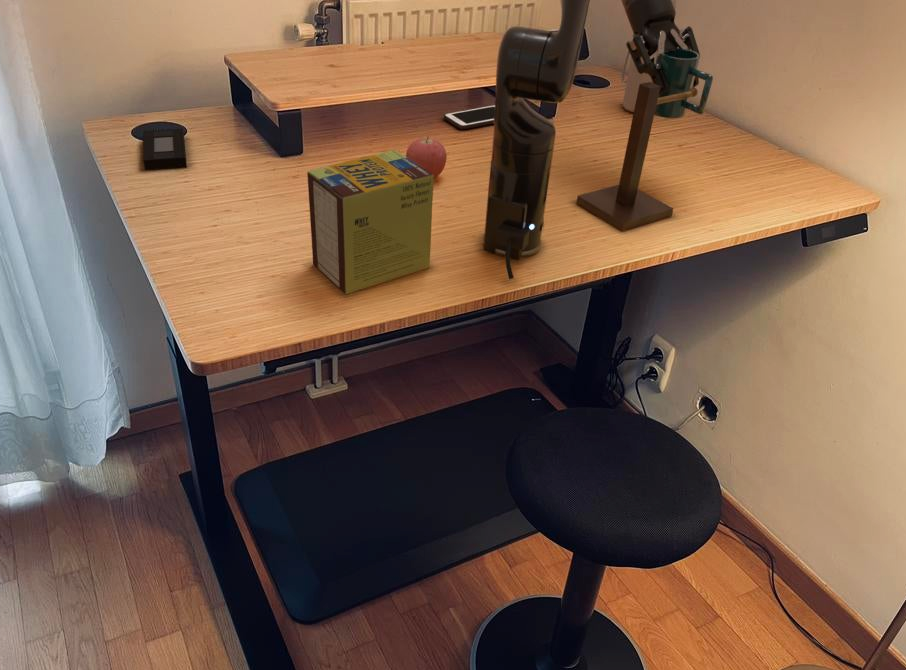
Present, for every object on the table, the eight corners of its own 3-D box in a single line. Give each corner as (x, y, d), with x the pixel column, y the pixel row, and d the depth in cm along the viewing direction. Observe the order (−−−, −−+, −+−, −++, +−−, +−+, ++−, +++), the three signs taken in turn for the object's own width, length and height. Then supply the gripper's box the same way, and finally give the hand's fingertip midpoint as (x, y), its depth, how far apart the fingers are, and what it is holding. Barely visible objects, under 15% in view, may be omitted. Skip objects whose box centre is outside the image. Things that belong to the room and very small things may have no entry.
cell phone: (441, 118, 171) (442, 114, 171) (497, 108, 178) (497, 104, 177) (461, 130, 166) (461, 126, 166) (517, 119, 172) (517, 115, 172)
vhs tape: (144, 170, 145) (142, 160, 144) (145, 140, 156) (143, 130, 154) (186, 167, 147) (185, 157, 145) (184, 138, 157) (182, 128, 156)
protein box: (431, 267, 122) (435, 173, 112) (345, 296, 115) (342, 198, 105) (394, 239, 129) (395, 148, 119) (310, 264, 121) (305, 169, 112)
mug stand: (622, 231, 134) (649, 102, 120) (576, 203, 142) (597, 79, 128) (694, 209, 142) (728, 85, 128) (647, 183, 150) (674, 64, 136)
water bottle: (660, 109, 182) (686, -8, 166) (642, 117, 177) (667, -3, 161) (626, 99, 186) (649, -17, 171) (607, 106, 182) (629, -12, 166)
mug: (640, 108, 141) (653, 50, 134) (666, 103, 143) (679, 46, 137) (686, 129, 134) (701, 69, 127) (712, 123, 136) (728, 64, 130)
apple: (418, 166, 151) (419, 125, 146) (451, 176, 149) (454, 134, 144) (398, 180, 146) (398, 138, 141) (432, 190, 144) (434, 147, 139)
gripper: (629, -10, 130) (664, 84, 130) (690, -17, 136) (723, 73, 136) (602, 17, 137) (635, 106, 136) (661, 9, 143) (693, 94, 143)
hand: (679, 89), depth 136 cm, fingers closed on mug, 6 cm apart
